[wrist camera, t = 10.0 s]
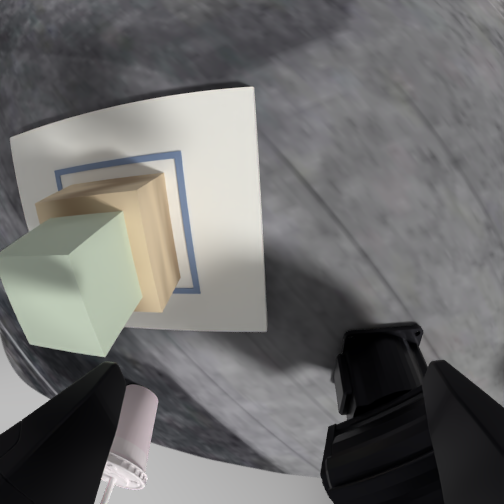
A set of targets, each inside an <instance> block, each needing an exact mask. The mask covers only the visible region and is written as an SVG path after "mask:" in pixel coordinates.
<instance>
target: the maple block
mask: <svg viewBox="0 0 504 504" xmlns="http://www.w3.org/2000/svg"><path fill="white" fill-rule="evenodd" d="M35 207H36V211H37V215H38V219H39V223H40V224H42V223H44V222H45V221H47V220H48V219H50V218H56V217H65V216H75V215H84V214H95V213H106V212H117V211H123V214H124V219H125V224H126V229H127V234H128V238H129V243H130V247H131V252H132V256H133V261H134V265H135V269H136V273H137V277H138V281H139V285H140V289H141V293H142V299H141V300H140V302H139V304H138V305H137V307H136V308H135V310H134V311H135V312H158V313H162V312H163V310H164V308H165V306H166V304H167V302H168V301H169V299H170V297H171V295H172V293H173V291H174V289H175V287H176V285H177V284H178V282H179V280H180V278H181V277H180V271H179V266H178V260H177V254H176V249H175V243H174V237H173V231H172V224H171V218H170V212H169V205H168V198H167V191H166V184H165V176H164V173H157V174H147V175H139V176H130V177H122V178H115V179H107V180H100V181H93V182H87V183H80V184H74V185H70V186H68V187H66V188H64V189H62V190H60V191H58V192H56V193H54V194H52V195H50V196H48V197H46V198H44V199H42V200H40V201H39V202H37V203H35Z"/></svg>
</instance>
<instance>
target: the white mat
mask: <svg viewBox="0 0 504 504" xmlns="http://www.w3.org/2000/svg"><path fill="white" fill-rule="evenodd" d="M10 144H11V151H12V157H13V163H14V169H15V174H16V180H17V185H18V189H19V194H20V199H21V203H22V207H23V211H24V215H25V219H26V223H27V227H28V230H29V232H30V231H31V230H33V229H34V228H36V227H37V226H39V225H40V223H39V219H38V215H37V211H36V207H35V203H37V202H39V201H40V200H42V199H44V198H46V197H48V196H50V195H52V194H54V193H56V192H58V191H60V190H62V189H64V188H66V187H68V186H70V185H74V184H80V183H87V182H93V181H100V180H107V179H115V178H122V177H130V176H139V175H147V174H157V173H164V176H165V184H166V191H167V198H168V205H169V212H170V218H171V224H172V231H173V237H174V243H175V249H176V254H177V260H178V266H179V271H180V277H181V278H180V280H179V282H178V284H177V285H176V287H175V289H174V291H173V293H172V295H171V297H170V299H169V301H168V302H167V304H166V306H165V308H164V310H163V312H162V313H158V312H135V311H133V313H132V315H131V316H130V318H129V319H128V321H127V322H126V324H125V326H124V327H130V328H145V329H163V330H184V331H216V332H267V303H266V283H265V263H264V244H263V226H262V208H261V190H260V173H259V156H258V140H257V124H256V109H255V94H254V87H239V88H228V89H218V90H208V91H200V92H192V93H185V94H178V95H171V96H165V97H159V98H153V99H148V100H143V101H137V102H132V103H128V104H123V105H118V106H114V107H110V108H105V109H101V110H97V111H93V112H89V113H85V114H82V115H78V116H74V117H71V118H67V119H64V120H61V121H57V122H54V123H51V124H48V125H45V126H41V127H38V128H35V129H33V130H30V131H27V132H24V133H21V134H18V135H16V136H13V137H10Z"/></svg>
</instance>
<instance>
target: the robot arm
mask: <svg viewBox="0 0 504 504" xmlns="http://www.w3.org/2000/svg"><path fill="white" fill-rule="evenodd" d="M417 331H418V332H417ZM415 332H417V333H415ZM422 335H423V330H422V328H421V326H419V325H416V326H405V327H394V328H380V329H366V330H351V331H348V332H346V333H345V335H344V340H343V347H342V354H339V355H338V356H337V360H336V367H335V374H334V381H335V388H336V395H337V402H338V410H339V413H340V414H341V415H347V421H344V422H342V423H339V424H334V425H331V426H329V427H328V432H327V439H326V444H325V450H324V456H323V461H322V467H321V473H320V475H321V478H322V483H323V486H324V487H325V490H326V492H327V494H328V496H329V498H330V499H331V500H332V501H333V503H334V504H504V408H503V407H502V406H501V405H500V404H499V403H497V402H496V401H495V400H494V399H492V398H491V397H490V396H489V395H488V394H486V393H485V392H484V391H483V390H481V389H480V388H479V387H478V386H476V385H475V384H474V383H473V382H471V381H470V380H469V379H468V378H466V377H465V376H464V375H463V374H461V373H460V372H459V371H458V370H456V369H455V368H454V367H453V366H451V365H450V364H449V363H448V362H446V361H445V360H436V361H432V362H431V363H430V364H429V366H427V364H426V362H425V359H424V357H423V355H422V353H421V351H420V348H419V345H420V341H421V338H422ZM351 336H353V337H352V338H349V337H351ZM125 391H126V381H125V379H124V376H123V374H122V372H121V370H120V367H119V365H118V364H117V363H114V362H107V361H106V362H103V363H101V364H100V365H99V366H97V367H96V368H94V369H93V370H92V371H90V372H89V373H87V374H86V375H84V376H83V377H82V378H80V379H79V380H77V381H76V382H75V383H73V384H72V385H70V386H69V387H68V388H66V389H65V390H63V391H62V392H61V393H59V394H58V395H56V396H55V397H53V398H52V399H51V400H49V401H48V402H46V403H45V404H44V405H42V406H41V407H39V408H38V409H37V410H35V411H34V412H33V413H31V414H29V415H28V416H27V417H25V418H24V419H22V421H20V422H18V423H17V424H15V425H14V426H12V427H11V428H9V429H8V430H6V431H5V432H3V433H2V434H0V504H94V502H95V498H96V495H97V491H98V488H99V485H100V481H101V478H102V475H103V471H104V468H105V465H106V462H107V459H108V455H109V452H110V449H111V446H112V443H113V440H114V437H115V434H116V430H117V427H118V422H119V418H120V413H121V408H122V404H123V400H124V395H125Z"/></svg>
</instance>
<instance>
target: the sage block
mask: <svg viewBox="0 0 504 504" xmlns="http://www.w3.org/2000/svg"><path fill="white" fill-rule="evenodd" d="M0 278H1V280H2V283H3V286H4V288H5V291H6V293H7V296H8V298H9V300H10V303H11V305H12V307H13V310H14V312H15V314H16V316H17V319H18V321H19V323H20V325H21V327H22V329H23V331H24V333H25V335H26V337H27V339H28V341H29V343H30V344H31V345H36V346H41V347H46V348H52V349H57V350H63V351H68V352H74V353H81V354H87V355H94V356H101V357H106V355H107V353H108V352H109V350H110V348H111V347H112V345H113V344H114V342H115V340H116V339H117V337H118V335H119V334H120V332H121V330H122V329H123V327H124V326H125V324H126V322H127V321H128V319H129V318H130V316H131V315H132V313H133V311H134V310H135V308H136V307H137V305H138V304H139V302H140V300H141V299H142V293H141V289H140V285H139V281H138V277H137V273H136V269H135V265H134V261H133V256H132V252H131V247H130V243H129V238H128V234H127V229H126V224H125V219H124V214H123V211H117V212H106V213H95V214H84V215H75V216H65V217H56V218H50V219H48V220H47V221H45V222H44V223H42V224H40V225H39V226H37V227H36V228H34V229H33V230H31V231H30V232H28V233H27V234H25V235H24V236H22V237H21V238H19V239H18V240H16V241H15V242H13V243H12V244H10V245H9V246H8V247H6V248H5V249H3V250H2V251H1V252H0Z"/></svg>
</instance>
